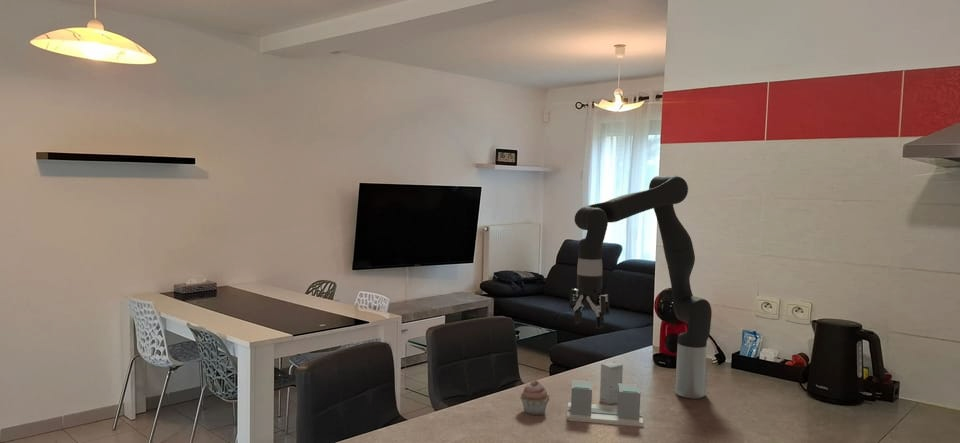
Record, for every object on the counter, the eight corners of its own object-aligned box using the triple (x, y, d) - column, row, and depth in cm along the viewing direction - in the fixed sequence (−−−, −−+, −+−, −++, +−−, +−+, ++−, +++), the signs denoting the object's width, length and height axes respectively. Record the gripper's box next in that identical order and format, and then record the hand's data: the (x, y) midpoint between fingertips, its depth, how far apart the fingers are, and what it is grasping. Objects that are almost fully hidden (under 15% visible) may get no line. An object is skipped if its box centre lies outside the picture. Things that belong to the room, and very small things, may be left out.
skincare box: (608, 404, 199) (610, 367, 198) (598, 400, 203) (600, 363, 202) (622, 401, 202) (623, 364, 202) (612, 397, 206) (613, 361, 205)
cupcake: (515, 414, 189) (516, 382, 188) (524, 404, 198) (524, 373, 197) (545, 419, 186) (546, 386, 185) (552, 408, 194) (554, 377, 194)
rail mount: (639, 411, 194) (641, 382, 193) (643, 426, 182) (644, 395, 181) (568, 405, 197) (569, 376, 196) (567, 420, 185) (568, 389, 185)
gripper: (616, 275, 186) (614, 328, 187) (581, 269, 197) (579, 319, 199) (599, 277, 182) (597, 332, 183) (564, 271, 193) (563, 322, 194)
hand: (588, 325), depth 191 cm, fingers open, 8 cm apart
